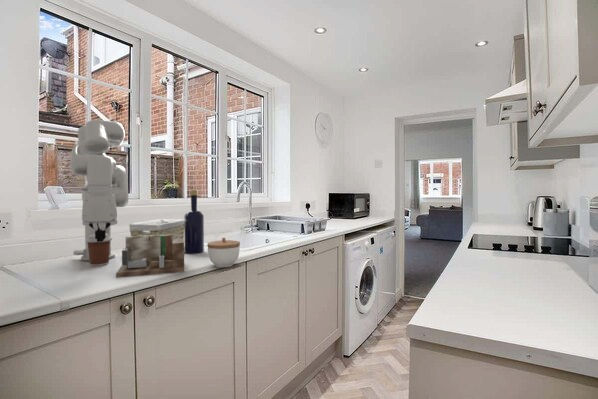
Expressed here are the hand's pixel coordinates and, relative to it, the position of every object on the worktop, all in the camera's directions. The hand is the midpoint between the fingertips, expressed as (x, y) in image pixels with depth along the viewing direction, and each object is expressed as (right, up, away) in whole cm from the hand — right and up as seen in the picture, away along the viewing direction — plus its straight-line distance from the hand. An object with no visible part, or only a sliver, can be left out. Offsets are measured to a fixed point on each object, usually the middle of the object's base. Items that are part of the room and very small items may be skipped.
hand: (100, 240), depth 115 cm
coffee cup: (-9, -11, +14) cm, 20 cm away
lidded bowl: (+41, -12, +13) cm, 45 cm away
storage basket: (+2, -11, +44) cm, 45 cm away
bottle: (+21, -11, +39) cm, 46 cm away
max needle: (+22, -10, +1) cm, 24 cm away
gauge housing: (+16, -12, +5) cm, 21 cm away
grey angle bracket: (+11, -10, +2) cm, 15 cm away
